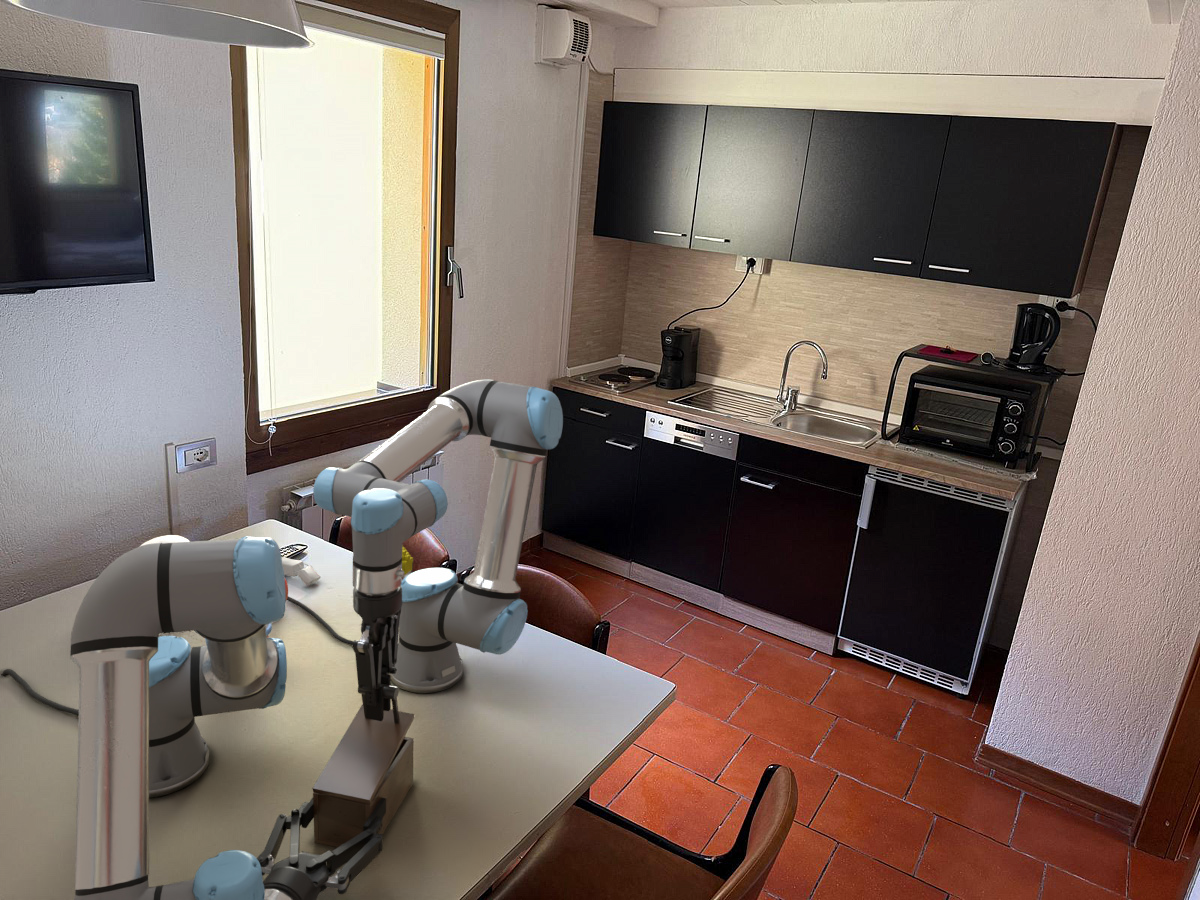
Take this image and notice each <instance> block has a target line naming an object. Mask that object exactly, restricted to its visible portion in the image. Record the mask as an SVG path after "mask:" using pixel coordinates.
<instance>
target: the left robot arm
mask: <svg viewBox="0 0 1200 900" xmlns="http://www.w3.org/2000/svg"><path fill="white" fill-rule="evenodd" d="M279 548H280V547H279V544H278V543H277V542H276V541H275V539H273V538H272V537H269V536H268V537H267V536H256V537H255V536H252V535H245V536H242V537H240V538H227V539H226V538H225V539H211V540H210V539H209V540H194V541H190V542H177V543H153V544H147V545H143V546H141V545H140V546H138V547H135V548H133V549H131V550H128V551H127V552H125V553H123V554H122V555H120V556H119V557H117V558H115V559H114V560H113V561H112V562H111V563H110V564H109V565H108V566H106V568H105V569H103V570H102V572H101V573H100V574H99V575H98V576H97V577H96V579H95V580H94V582H93V583H92V584H91V586H90V587H89V589H88V590H87V592H86V594H85V595H84V596H83V599H82V602H81V603H80V605H79V607H78V610H77V613H76V615H75V618H74V620H73V621H74V622H73V625H72V630H71V635H70V652H69V653H70V656H69V659H70V660H71V662H73V663H74V664H75V665H76V666H77V667H78V669H79V676H78V677H79V679H78V680H79V681H78V682H79V683H78V709H76V708H73V707H69V706H66V705H63V704H60V703H58V702H56V701H53V700H51V699H49V698H46V697H44V696H42V695H40V694H39V693H38V692H36V691H35V690H34V689H33V688H32V687H31V686H30V685H29V684H28V682H27V681H26V680H25V679H23V678H22V677H21V676H20V675H19V674H18V673H17V672H16V671H14V670H13V669H12V668H7V669H4V670H3V671H2V673H1V675H2V676H7V675H9V676H10V677H12V679H14V680H15V681H16V682H17V683H18V684H19V685H21V687H22V688H23V689H24V690H25V692H26V693H27V694H28V695H29V696H30V697H31V698H33V699H35V700H36V701H38V702H40V703H41V704H44V705H46V706H48V707H50V708H53V709H55V710H58V711H60V712H64V713H68V714H71V715H74V716H77V717H78V725H77V726H78V729H77V730H78V731H77V769H76V770H77V772H76V773H77V774H76V775H77V776H76V814H75V815H76V816H75V818H76V819H75V823H76V825H75V866H74V890H75V891H74V900H317V899H318V897H319V895H320V894H321V893H322V892H324V891H325V890H326V889H335V890H337V894H338V895H344V894H346V893H347V891H348V889H349V887H350V884H351V882H353V881H354V880H355V879H356V878H357V877H358V876H359V875H360V874H361V873H362V872H363V871H364V870H365V869H366V868H367V867H368V866H369V865H370V864H371V863H372V862H373V861H374V860H375V859H376V858H377V857H378V856H379V855H380V854H381V853H382V852H383V850H384V836H383V834H379V832H380V831H381V829H382V827H383V817H384V815H385V813H386V798H381V799H380V801H379V802H378V804H377V806H376V807H375V809H374V810H373V812H372V813H371V815H370V816H369V818H368V819H367V821H366V822H365V824H364V825H363V832H362V833H360V834H359V835H357V836H355V837H354V838H352V839H351V840H349V841H347V842H346V843H344V844H343V845H341V846H339V847H335V849H333V850H331V849H329V850H327V851H325V852H323V853H322V854H318V853H310V852H308V851H305V850H301V851H300V845H301V843H300V841H301V840H300V839H301V828H303V829H307V828H308V826H309V825H310V823H311V822H313V820H314V814H313V797H311V799H310V800H309V801H304V802H303V803H302V804H301V806H300V807H299V808H294V809H292V810H291V812H290V815H288V816H287V814H286V813H280V814H279V815H278V816H277V818H276V820H275V823H274V826H273V828H272V830H271V833H270V835H269V838H268V840H267V843H266V845H265V847H264V850H263V851H262V852H261V853H260V854H259V855H258V856H255V855H254V854H252V853H250V852H249V851H246V850H241V849H229V850H225V851H221V852H218V854H217V855H216V856H214V857H209V858H208V859H206V860H204V861H203V862H202V863H201V864H200V866H199V867H198V869H197V870H196V872H195V875H194V877H193V878H192V879H186V880H182V881H177V882H172V883H167V884H160V885H156V886H150V885H149V874H150V799H151V798H157V797H161V796H162V797H163V796H166V795H171V794H172V793H175V792H178V791H180V790H182V789H184V788H186V787H188V786H189V785H191V784H193V783H194V782H195V781H196V780H198V779H199V778H201V776H202V775H203V774H204V773H205V771H206V770H207V768H208V766H209V763H210V747H208V743H207V742H206V740H205V738H204V737H202V735H201V732H200V729H199V726H198V725H197V723H196V718H197V717H203V716H210V715H218V714H227V713H235V712H241V711H249V710H257V709H259V710H265V709H267V708H270V707H274V706H277V705H279V704H281V703H282V702H283V700H284V698H285V694H286V688H287V686H286V684H287V677H288V676H287V675H288V663H287V649H286V646H285V643H284V640H283V639H282V638H280V637H270V636H269V638H268V637H267V636H266V624H270V623H271V624H272V623H276V622H279V621H280V620H282V619H283V618H284V616H285V612H286V606H287V605H286V604H287V601H286V591H285V579H286V577H285V575H284V570H283V566H282V557H283V556H282V553H281V548H280V549H279ZM284 577H285V578H284ZM190 631H191V632H192V631H195V633H196V634H198V635H199V636H200V637H202V638H204V642H205V644H206V645H201V646H199V645H198V646H191V644H190V643H189V642H188V640H187V639H186V638H184V637H181V636H176V635H161V636H159V635H160V634H169V633H181V632H190ZM288 830H290V835H289V856H288V857H285V858H283V859H282V860H280V861H278V862H275V861H276V858H277V855H278V853H279V851H280V848H281V845H282V843H283V840H284V838H285V835H286V833H287V831H288ZM339 868H341V869H339ZM265 874H267V876H266V877H265V879H264V877H263V876H265ZM263 879H264V880H263Z"/></svg>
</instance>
